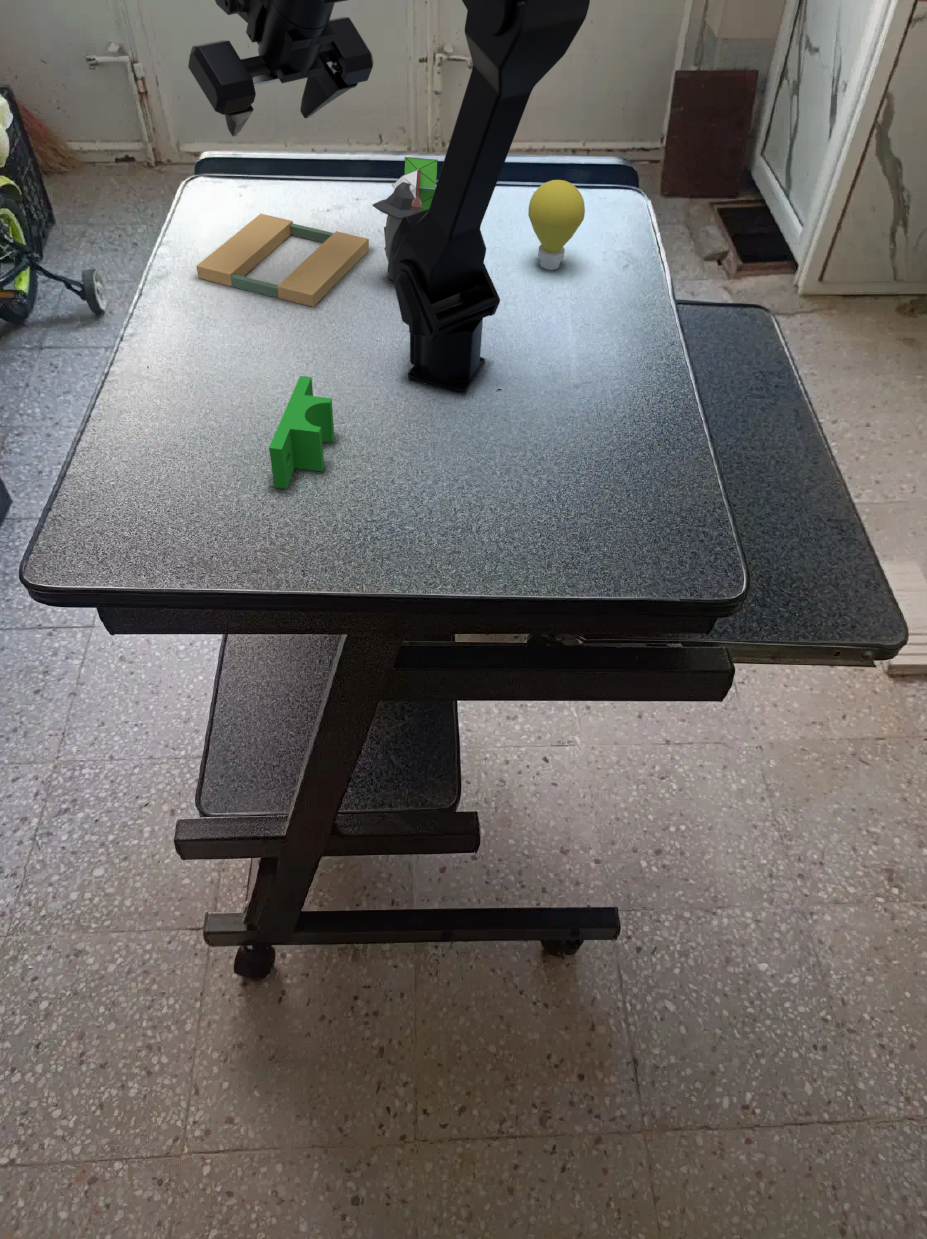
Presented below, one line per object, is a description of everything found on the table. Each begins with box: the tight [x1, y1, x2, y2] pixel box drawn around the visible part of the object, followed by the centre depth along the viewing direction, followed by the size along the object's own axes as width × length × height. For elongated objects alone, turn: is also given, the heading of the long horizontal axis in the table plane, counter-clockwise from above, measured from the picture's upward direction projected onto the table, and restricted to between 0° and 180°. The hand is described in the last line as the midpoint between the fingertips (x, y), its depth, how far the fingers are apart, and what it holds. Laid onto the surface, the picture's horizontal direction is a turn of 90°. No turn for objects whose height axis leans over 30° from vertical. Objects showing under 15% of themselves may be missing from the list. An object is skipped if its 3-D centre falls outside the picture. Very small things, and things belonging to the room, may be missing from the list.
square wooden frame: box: [195, 213, 370, 308], centre depth 108 cm, size 15×15×2 cm
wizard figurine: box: [372, 182, 422, 283], centre depth 102 cm, size 8×6×12 cm
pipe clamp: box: [268, 375, 335, 490], centre depth 83 cm, size 11×4×5 cm, turn 173°
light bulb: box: [527, 179, 586, 271], centre depth 107 cm, size 7×7×10 cm
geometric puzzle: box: [391, 155, 442, 211], centre depth 116 cm, size 7×7×8 cm
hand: (268, 123), depth 98 cm, fingers open, 9 cm apart
